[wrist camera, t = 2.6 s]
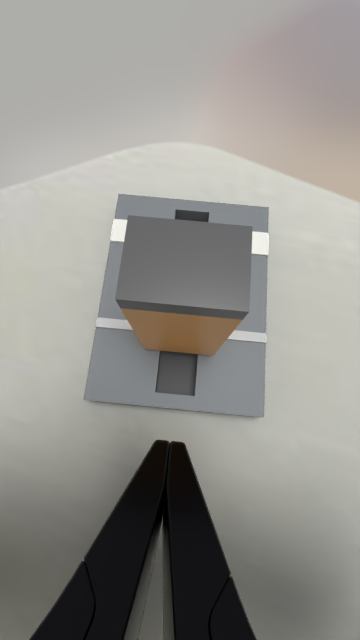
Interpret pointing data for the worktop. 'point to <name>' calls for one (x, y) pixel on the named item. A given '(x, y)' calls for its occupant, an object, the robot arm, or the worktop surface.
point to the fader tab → (184, 282)
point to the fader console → (174, 367)
